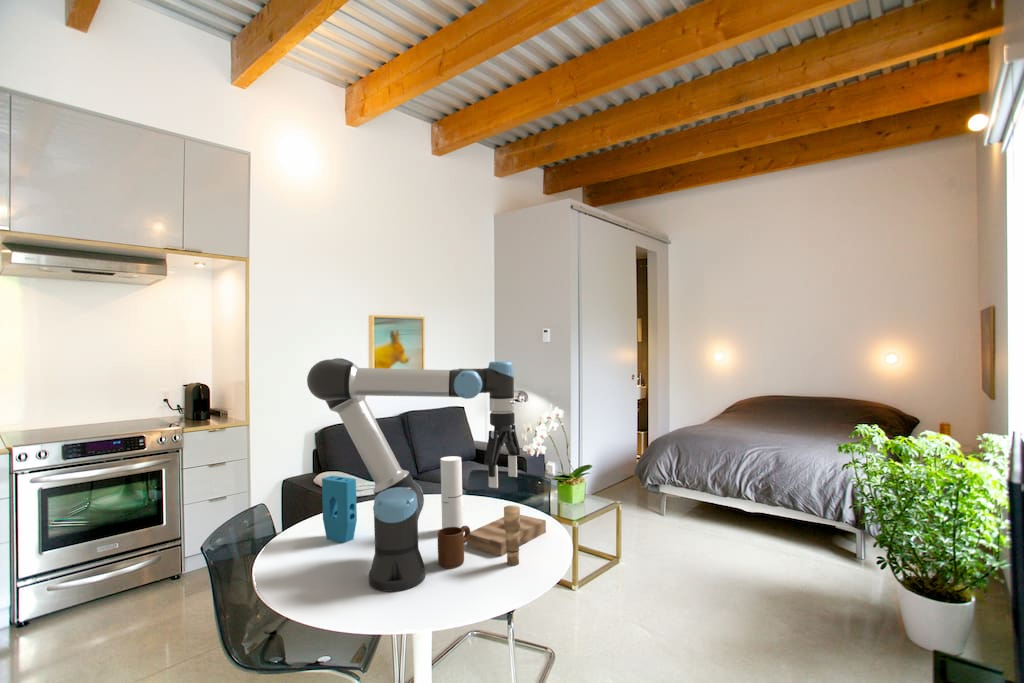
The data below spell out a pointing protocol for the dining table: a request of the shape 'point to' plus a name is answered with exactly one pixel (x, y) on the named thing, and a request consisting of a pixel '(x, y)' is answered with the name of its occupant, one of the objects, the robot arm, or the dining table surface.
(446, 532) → the mug
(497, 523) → the seat board
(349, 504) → the block
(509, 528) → the oak peg
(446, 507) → the cylindrical container
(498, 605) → the dining table surface
